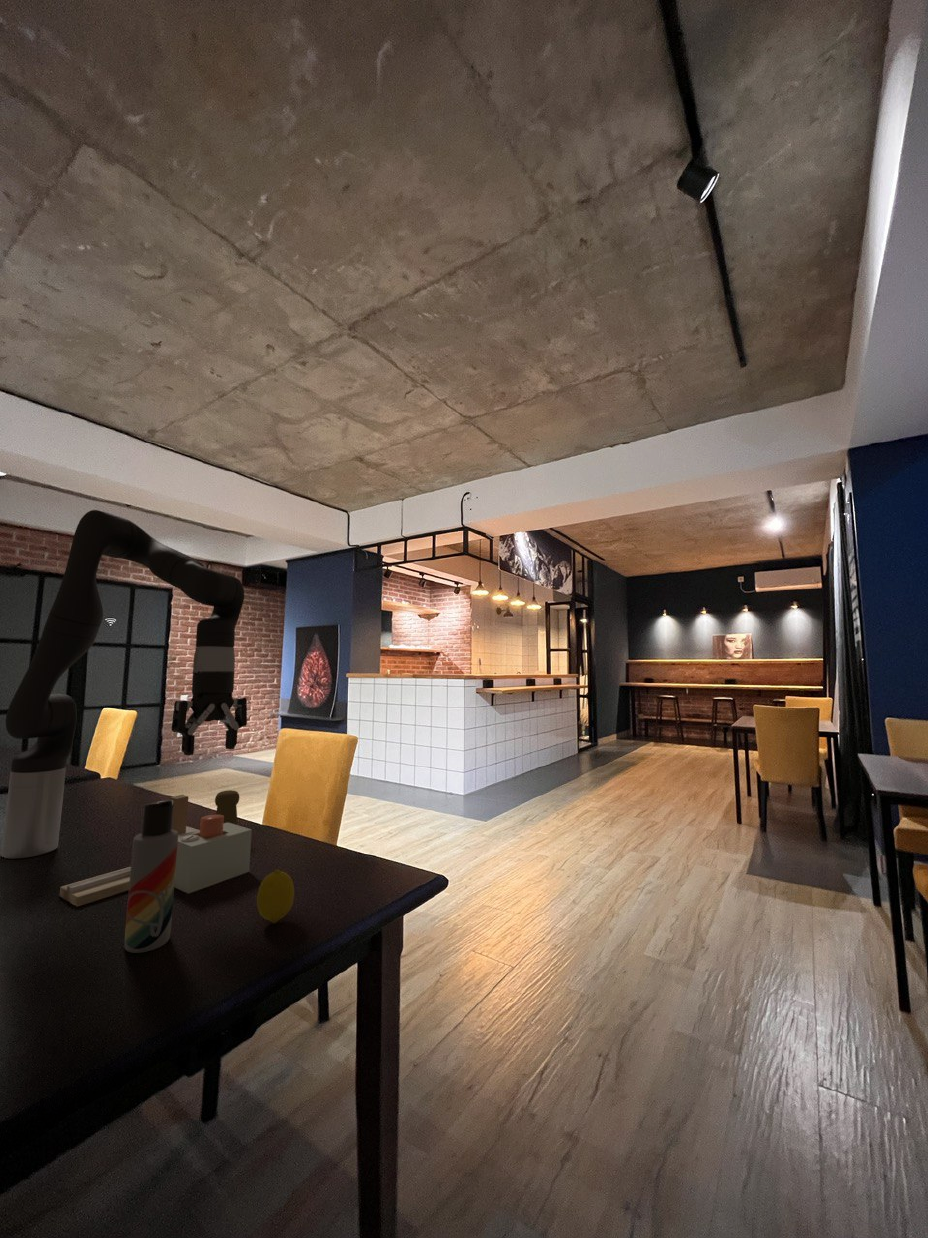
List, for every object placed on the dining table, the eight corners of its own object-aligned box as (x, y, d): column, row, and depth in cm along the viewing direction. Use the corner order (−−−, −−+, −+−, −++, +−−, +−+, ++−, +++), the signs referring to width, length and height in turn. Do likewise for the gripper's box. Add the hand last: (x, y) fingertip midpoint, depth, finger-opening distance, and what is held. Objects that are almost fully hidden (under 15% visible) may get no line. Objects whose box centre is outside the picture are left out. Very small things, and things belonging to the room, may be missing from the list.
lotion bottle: (135, 958, 68) (148, 807, 70) (116, 946, 71) (129, 801, 73) (178, 940, 73) (188, 799, 75) (157, 929, 76) (168, 794, 78)
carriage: (148, 855, 98) (153, 798, 99) (184, 845, 104) (188, 791, 105) (164, 862, 95) (169, 802, 96) (200, 851, 101) (204, 795, 102)
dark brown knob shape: (227, 845, 112) (230, 795, 114) (203, 843, 114) (207, 793, 115) (244, 837, 118) (247, 789, 119) (221, 834, 119) (225, 787, 121)
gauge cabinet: (164, 882, 92) (168, 835, 93) (225, 862, 102) (228, 820, 103) (188, 893, 88) (192, 844, 89) (249, 871, 98) (251, 827, 99)
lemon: (300, 918, 80) (302, 866, 81) (276, 935, 75) (279, 879, 76) (271, 912, 82) (274, 861, 83) (247, 928, 77) (250, 873, 78)
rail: (59, 896, 86) (62, 868, 87) (200, 853, 107) (202, 831, 108) (76, 906, 82) (79, 878, 83) (219, 860, 103) (221, 838, 104)
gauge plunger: (194, 850, 95) (196, 818, 96) (214, 844, 98) (216, 813, 99) (206, 855, 93) (208, 821, 94) (226, 849, 96) (228, 816, 97)
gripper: (235, 670, 108) (231, 746, 107) (167, 669, 96) (162, 755, 95) (256, 670, 105) (253, 748, 103) (189, 669, 93) (184, 758, 91)
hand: (209, 752), depth 99 cm, fingers open, 8 cm apart
